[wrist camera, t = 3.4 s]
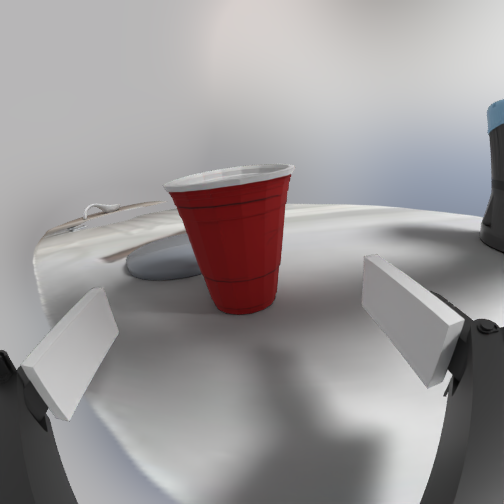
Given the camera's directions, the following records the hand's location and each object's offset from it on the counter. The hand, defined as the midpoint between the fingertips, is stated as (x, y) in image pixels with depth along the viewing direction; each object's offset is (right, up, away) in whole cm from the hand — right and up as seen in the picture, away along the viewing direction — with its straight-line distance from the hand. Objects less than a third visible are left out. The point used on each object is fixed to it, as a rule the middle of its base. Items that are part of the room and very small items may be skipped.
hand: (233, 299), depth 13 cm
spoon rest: (-82, +23, +121) cm, 148 cm away
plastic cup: (0, -2, +13) cm, 13 cm away
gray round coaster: (-9, +2, +28) cm, 29 cm away
